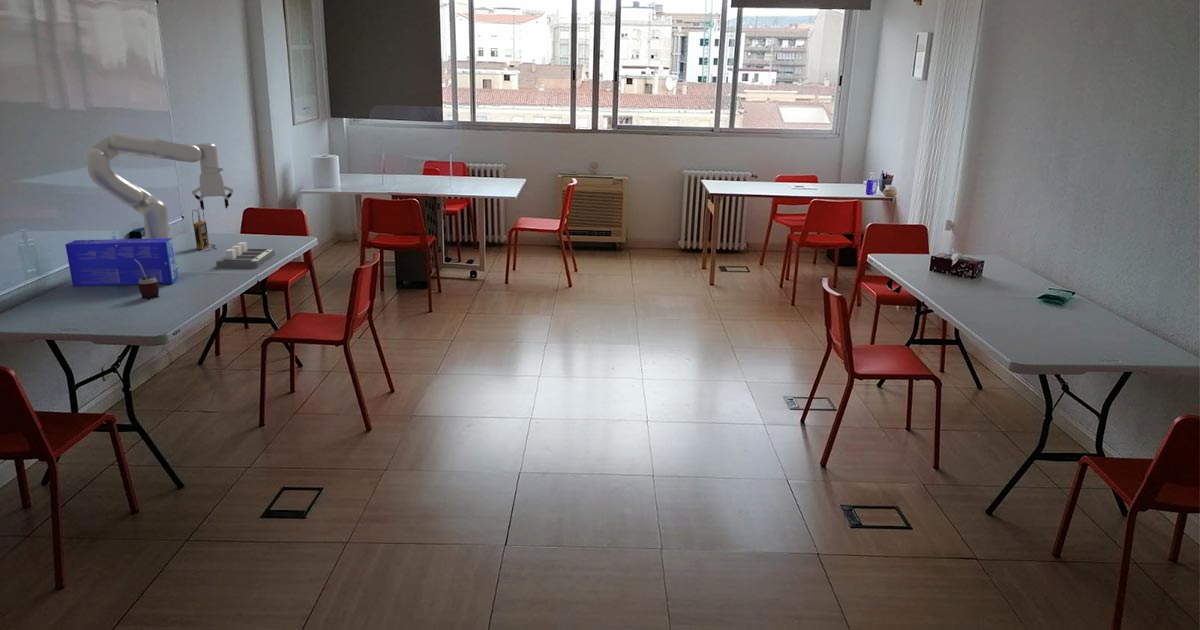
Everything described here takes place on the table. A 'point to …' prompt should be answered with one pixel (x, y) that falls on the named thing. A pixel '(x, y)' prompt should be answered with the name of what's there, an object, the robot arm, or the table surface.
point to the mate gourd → (148, 286)
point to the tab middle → (237, 249)
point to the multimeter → (201, 233)
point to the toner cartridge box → (121, 261)
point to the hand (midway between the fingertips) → (214, 208)
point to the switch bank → (247, 259)
